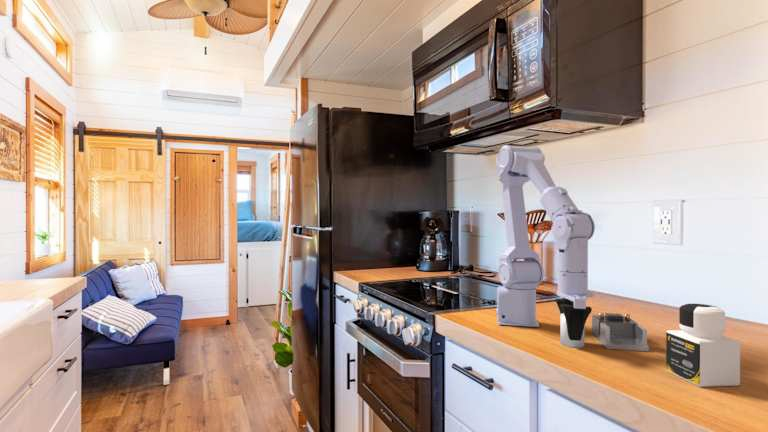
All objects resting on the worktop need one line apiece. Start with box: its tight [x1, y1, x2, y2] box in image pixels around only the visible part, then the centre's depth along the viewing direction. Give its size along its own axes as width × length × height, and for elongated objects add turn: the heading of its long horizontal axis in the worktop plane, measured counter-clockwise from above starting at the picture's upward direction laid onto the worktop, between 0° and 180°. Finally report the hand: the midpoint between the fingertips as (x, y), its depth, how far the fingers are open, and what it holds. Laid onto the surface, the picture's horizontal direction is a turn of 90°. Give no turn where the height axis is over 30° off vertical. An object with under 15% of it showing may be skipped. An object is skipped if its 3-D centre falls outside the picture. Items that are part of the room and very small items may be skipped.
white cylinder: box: [559, 313, 586, 349], centre depth 89 cm, size 5×5×7 cm
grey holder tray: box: [591, 312, 650, 352], centre depth 91 cm, size 8×12×5 cm, turn 167°
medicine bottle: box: [665, 303, 741, 388], centre depth 70 cm, size 7×7×12 cm
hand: (572, 336), depth 89 cm, fingers closed on white cylinder, 5 cm apart
